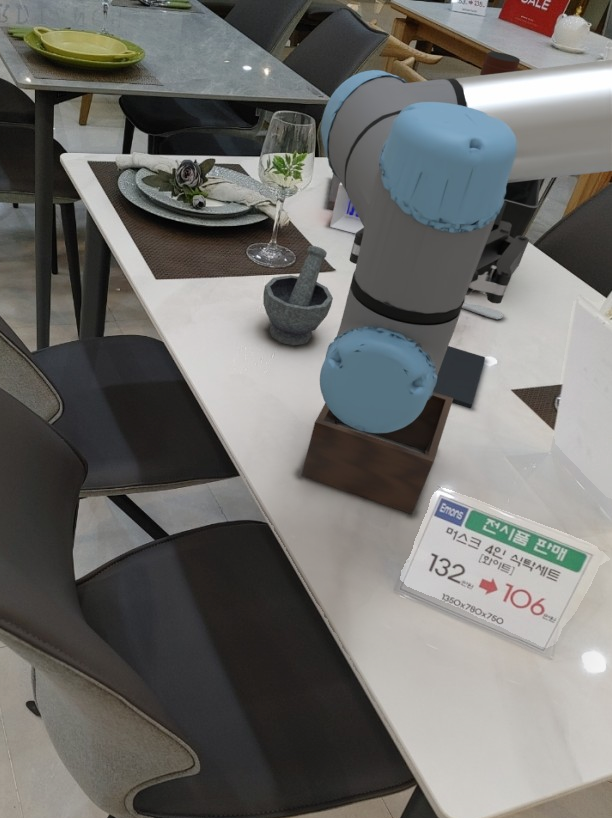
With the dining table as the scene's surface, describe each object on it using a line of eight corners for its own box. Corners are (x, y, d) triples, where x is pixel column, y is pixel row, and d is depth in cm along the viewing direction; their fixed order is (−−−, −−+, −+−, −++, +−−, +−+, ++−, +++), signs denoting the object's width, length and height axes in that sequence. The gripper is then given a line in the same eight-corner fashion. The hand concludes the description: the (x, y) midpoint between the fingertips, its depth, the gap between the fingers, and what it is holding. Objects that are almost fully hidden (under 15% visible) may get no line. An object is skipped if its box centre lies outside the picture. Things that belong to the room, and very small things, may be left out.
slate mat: (483, 360, 115) (485, 357, 115) (470, 408, 106) (472, 404, 105) (357, 321, 119) (358, 318, 119) (333, 364, 109) (334, 360, 109)
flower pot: (406, 236, 145) (434, 143, 134) (505, 263, 142) (542, 170, 131) (388, 277, 132) (417, 178, 120) (497, 307, 129) (537, 208, 117)
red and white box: (377, 222, 148) (388, 180, 143) (370, 237, 143) (381, 194, 137) (337, 212, 150) (347, 170, 144) (329, 226, 144) (338, 184, 139)
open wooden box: (432, 449, 98) (453, 398, 92) (412, 514, 88) (433, 461, 83) (331, 415, 100) (346, 363, 95) (301, 475, 91) (314, 421, 85)
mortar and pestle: (307, 359, 109) (325, 281, 101) (248, 337, 112) (261, 260, 103) (333, 326, 117) (352, 252, 109) (277, 307, 119) (291, 232, 111)
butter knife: (502, 319, 125) (503, 311, 127) (361, 278, 129) (364, 272, 131) (501, 321, 125) (502, 314, 127) (360, 281, 129) (364, 274, 131)
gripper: (285, 304, 66) (351, 214, 82) (522, 376, 62) (543, 266, 78) (302, 218, 60) (369, 140, 76) (562, 291, 57) (575, 192, 73)
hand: (457, 204), depth 77 cm, fingers closed on wine bottle, 7 cm apart
